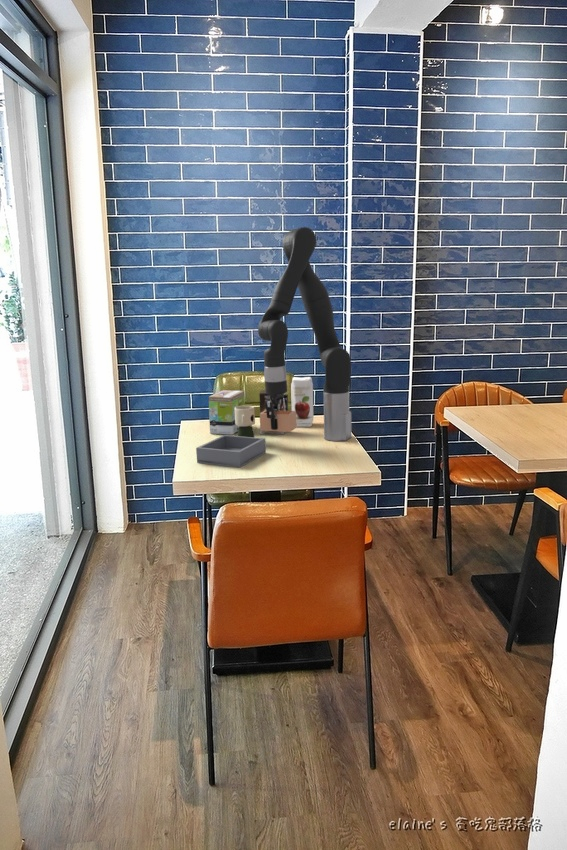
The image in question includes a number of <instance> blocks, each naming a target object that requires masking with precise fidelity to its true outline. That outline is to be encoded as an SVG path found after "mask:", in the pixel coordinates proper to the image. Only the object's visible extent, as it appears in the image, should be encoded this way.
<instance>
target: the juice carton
mask: <svg viewBox="0 0 567 850" xmlns="http://www.w3.org/2000/svg"><path fill="white" fill-rule="evenodd" d="M290 394H291V395H290V398H291V400H290V401H291V403H290V404H291V411H296V424H297V428H304V427H305V428H308V427H309V428H311V427H312V426H313V422H314V383H313V379H312V377H311V376H304V377H299V376H298V377H297V376H296V377H295V376H293V377H292V379H291V383H290Z"/></svg>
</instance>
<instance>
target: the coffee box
mask: <svg viewBox="0 0 567 850" xmlns="http://www.w3.org/2000/svg"><path fill="white" fill-rule="evenodd" d="M269 398H270V395H269V394H267V393H266V392H265V389H264V390H263V389H262V390H260V392H259V414H260V413H262V412H264V411H265V410H266V406H265V402H266V401H269ZM274 410H276V409H274ZM259 428H260V427H259ZM259 435H262V436H263V435H265V436H266V435H269V436H271V435H272V436H274V435H275V436H276V435H278V436H281V435H285V432H281V431H261V428H260V433H259Z"/></svg>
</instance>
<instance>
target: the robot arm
mask: <svg viewBox="0 0 567 850" xmlns="http://www.w3.org/2000/svg"><path fill="white" fill-rule="evenodd" d="M281 246H282V249H283V253H284V255H285V256H286V259H287V262H288V264H287V266H286V267H285V269H284V271H283V273H282V275H281V276H280V277H279V279H278V281H277V284H276V285H275V287H274V290H273V294H272V297H271V300H270V303H269V306H268V307H267V308H266V310H265V312H264V314H263V316H262V317H261V319H260V321H259V323H258V326H257V333H258V336H259V338H260V339H261V340H262V341H263V340H264V341H265V342H266V341H267V342H270V346H269V348H267V349H265V350H264V351H263V362H264V369H263V370H264V371H263V372H264V374H263V375H264V376H263V377H264V390H265V392H266V393H267V394H269V395H270V398H269V401H266V402H265V406H266V413H267V418H270V419H271V429H272V430H277V429H278V424H277V414H278V413H279V410H283V411H284V410H287V411H289V394H288V379H287V377H288V376H287V369H286V358H285V357H286V356H285V352H286V349H287V343H288V336H289V330H288V327H287V324H286V323H285V322H284V321H283V320H281V319H282V318H283V317H286V316H287V315H289V314H290V311H291V308H292V306H293V305H292V304H293V303H294V302H293V301H294V299H295V295H296V291H297V289H298V291H299V293H300V297H301V301H302V304H303V306H304V310H305V313H306V316H307V318H308V321H309V323H310V326H311V328H312V329H311V330H312V331H313V333H314V336H315V340H316V343H317V347H318V353H319V357H320V362H321V365H322V366H323V368H324V374H325V375H324V376H325V377H324V378H325V380H324V383H323V387H322V389H323V436H324V437H323V438H324V439H325V440H327V441H331V442H336V441H339V442H340V441H344V442H345V441H348V440H350V438H352V411H350V387H351V386H350V385H351V380H352V379H351V378H352V376H351V375H352V359H351V356H350V353H349V351H347V350H346V349H344V348H342V346H341V343H340V342H339V338H338V336H337V333H336V331H335V330H336V329H335V323H334V309H333V305H332V301H331V299H330V296H329V295H330V294H329V292H328V289H327V287H326V286H325V285H324V283H323V281H321V279H320V278H319V277H318V276H317V274H316V273H315V271H314V270H313V268H312V265H311V263H310V259H311V258H312V255H313V253H314V251H315V249H316V247H317V237H316V234H315V232H314V230H312V229H311V227H306V226H301V227H299V228H296V229H292V230H290V231H287V232H286V233H285V234H284V236H283V237H282V245H281ZM274 409H276V410H274ZM269 412H270V415H269ZM274 412H275V413H274Z"/></svg>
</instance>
